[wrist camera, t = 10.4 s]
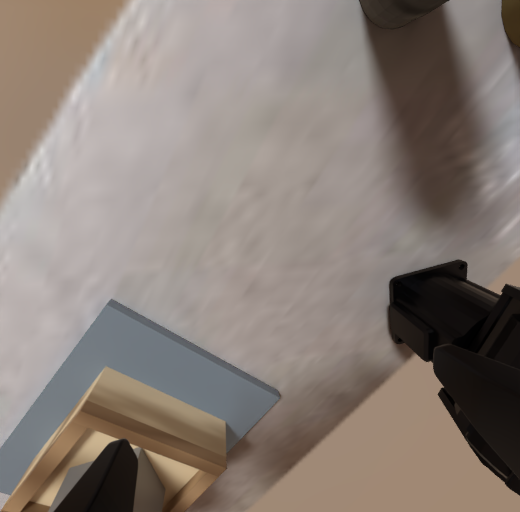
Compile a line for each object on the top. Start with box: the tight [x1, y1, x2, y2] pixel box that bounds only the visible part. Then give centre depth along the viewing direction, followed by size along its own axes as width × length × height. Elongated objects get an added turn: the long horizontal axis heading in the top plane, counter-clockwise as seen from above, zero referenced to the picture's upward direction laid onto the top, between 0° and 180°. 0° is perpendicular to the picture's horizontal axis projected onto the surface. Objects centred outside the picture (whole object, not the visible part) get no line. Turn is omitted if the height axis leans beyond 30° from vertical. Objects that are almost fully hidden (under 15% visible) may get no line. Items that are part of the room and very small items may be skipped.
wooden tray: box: [0, 366, 227, 512], centre depth 20 cm, size 11×11×4 cm
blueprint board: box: [0, 299, 280, 495], centre depth 22 cm, size 20×16×1 cm
